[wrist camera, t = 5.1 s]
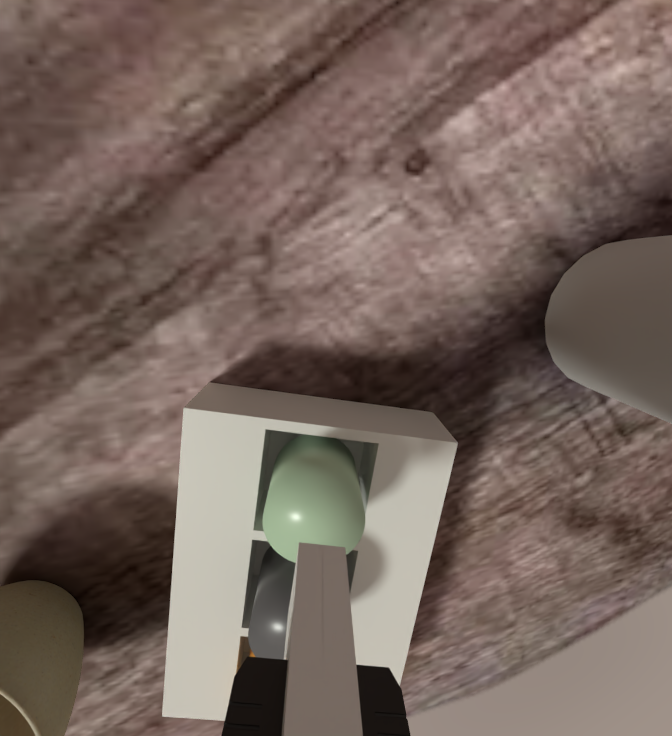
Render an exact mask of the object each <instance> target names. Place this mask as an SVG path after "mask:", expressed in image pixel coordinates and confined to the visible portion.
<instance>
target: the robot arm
mask: <svg viewBox="0 0 672 736" xmlns="http://www.w3.org/2000/svg"><path fill="white" fill-rule="evenodd" d="M222 736H410V731H409V726H408V721H407V719H406V711H405V706H404V700H403V695H402V690H401V688H400V686H399V684H398V682H397V681H396V679H395V677H394V675H393V674H392V672H391V670H390V668H389V667H378V666H367V665H356V657H355V646H354V635H353V624H352V614H351V603H350V592H349V582H348V571H347V560H346V549H345V547H338V546H329V545H319V544H310V543H301V542H299V545H298V552H297V558H296V565H295V571H294V578H293V585H292V591H291V598H290V604H289V611H288V620H287V630H286V641H285V651H284V660H283V659H271V658H260V657H248V656H247V658H246V659H245V661H244V662H243V664H242V665H241V667H240V668H239V670H238V672H237V673H236V675H235V676H234V680H233V685H232V689H231V694H230V699H229V704H228V708H227V713H226V717H225V722H224V728H223V731H222Z"/></svg>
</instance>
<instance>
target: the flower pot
mask: <svg viewBox="0 0 672 736" xmlns="http://www.w3.org/2000/svg"><path fill="white" fill-rule="evenodd" d="M83 649H84V623H83V614H82V611H81V609H80V606H79V604H78V603H77V601H76V600H75V599H74V597H73V596H72V595H70V594H69V593H68V592H67V591H66V590H64V589H63V588H61V587H59V586H57V585H54V584H52V583H49V582H45V581H39V580H27V581H21V582H16V583H12V584H8V585H4V586H1V587H0V736H64V735H65V732H66V729H67V726H68V723H69V720H70V716H71V713H72V709H73V706H74V702H75V698H76V694H77V690H78V685H79V680H80V674H81V668H82V659H83Z"/></svg>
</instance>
